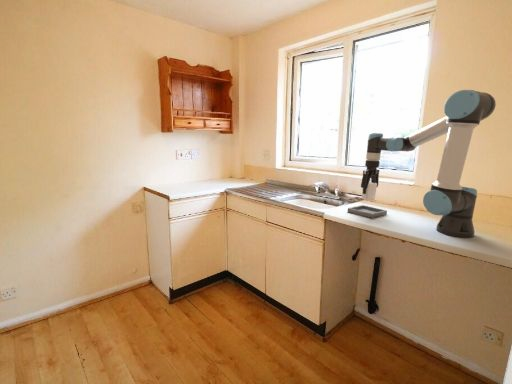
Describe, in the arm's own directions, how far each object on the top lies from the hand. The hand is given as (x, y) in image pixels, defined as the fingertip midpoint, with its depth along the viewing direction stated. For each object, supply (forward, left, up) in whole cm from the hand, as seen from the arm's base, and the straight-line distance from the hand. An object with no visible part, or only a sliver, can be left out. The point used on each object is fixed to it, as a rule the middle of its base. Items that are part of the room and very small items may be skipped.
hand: (368, 198), depth 166 cm
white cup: (0, 0, -1) cm, 1 cm away
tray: (0, 0, -9) cm, 9 cm away
